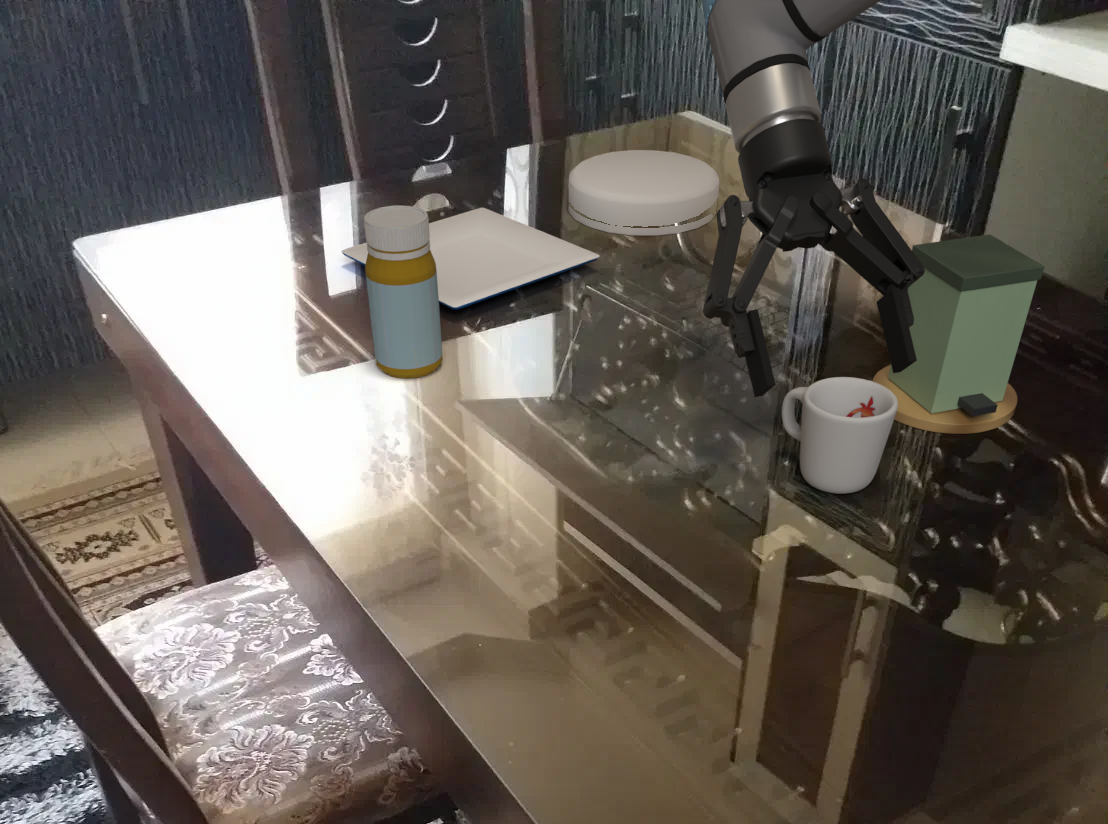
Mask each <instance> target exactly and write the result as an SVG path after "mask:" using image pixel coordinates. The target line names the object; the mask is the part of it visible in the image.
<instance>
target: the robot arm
mask: <svg viewBox="0 0 1108 824" xmlns="http://www.w3.org/2000/svg"><path fill="white" fill-rule="evenodd" d="M700 1H701V6H702V11H703V17H704V30H705V35H706V38H707V39H708V43H709V45H710V48H711V52H712V57H713V60H714V64H715V68H716V72H717V76H718V80H719V83H720V87H721V91H722V96H723V97H722V98H723V101H724V102H723V103H724V106H725V107H724V108H725V111H726V115H727V120H728V123H729V128H730V131H731V136H732V140H733V141H732V142H733V144H734V145H733V146H734V148H735V151H736V153H738V157H737V163H738V167H739V171H740V176H741V179H742V180H741V181H742V184H743V189H744V193H745V195H746V197H747V198H748V200H741V199H740V197H739V196H737V195H736V194H730V195H729V196H727V198H726V199H725V201H724V202H723V204H722V205H721V206H720V207H719V209H717V214H716V221H717V224H716V225H717V232H718V239H717V243H716V247H715V251H714V257H713V261H712V265H711V271H710V275H709V280H708V285H707V289H706V294H705V297H704V303H703V307H702V313H703V316H704V317H705V318H706V319H710V320H711V319H713V318H718V319H720V323H721V325H723V326H724V327H726V328H729V333H730V337H731V341H732V345H733V350H734V353H735V355H736V356H737V358H738V359H739V358H740V359H741V358H745V362H746V367H747V370H748V375H749V379H750V383H751V388H752V392H753V396H754V398H758V397H764V395H766V394H767V393H768V392H770V390H771V389H773V388H774V387H775V386H776V384H777V383H776V380H775V377H774V371H773V368H772V364H771V360H770V355H769V350H768V346H767V342H766V339H765V334H764V329H763V324H762V321H761V316H760V312H759V309H751V310H749V311H747V309H748V307H749V305H750V304H751V301H752V299H753V297H754V295H755V293H756V291H757V290H758V287H759V285H760V283H761V281H762V279H763V276H764V275H765V273H766V271H767V269H768V267H769V264H770V262H771V260H772V259H773V256H774V254H775V252H776V250H777V248H778V249H780V250H782V252H783V253H786V252H792V251H794V250H796V249H799V248H801V249H814V248H816V247H817V246H818V245H819V246H821V247H822V248H823V249H824V250H825V251H827V252H833V253H834V254H835V255H836V256H837V257H839V259H841V260H842V261H843V262H844V263H846V264H847V265H848V267H850V268H851V269H852V270H853V271H855V272H856V273H857V275H859V276H860V277H861V278H863V280H865V281H866V282H867V284H869V285H870V286H871V287H873V289H875V290H876V291H877V292H878V293H880V294H881V295H882V297H880V298H879V299H878V300H877V301H876V307H877V312H878V316H879V320H880V324H881V328H882V332H883V336H884V341H885V345H886V349H887V354H888V357H889V362H890V365H891V366H892V370H893V373H898V372H901V371H903V370H904V369H906V368H907V367H908V366H910V365H911V364H913V363H914V362H916V361H917V359H916V354H915V350H914V346H913V342H912V338H911V333H910V329H909V327H911V326H912V325H913V324H914V316H913V312H912V308H911V303H910V299H909V295H908V287H910V286H911V285H912V284H913V283H914V282H916V281H917V280H918V279H919V278H920V277H922V276H923V275H924V272H925V269H924V267H923V265H922V264H921V262H920V261H919V260H918V258H917V257H916V256H915V254H914V253H913V251H912V248H911V247H910V246H909V245H908V243H907V242H906V241H905V239H904V238H903V237H902V235H901V234H900V232H899V231H898V229H897V228H896V227H895V225H894V224H893V223H892V221H891V220H890V218H889V217H888V216H887V214H885V212H884V210H883V209H882V208H881V206H880V205H879V204H878V202H877V199H876V197H875V195H874V192H873V188H872V186H871V185H872V184H871V183H870V181H869V180H868V179H867V178H862V177H861V178H860V179H858V181H857V182H856V183H855V184H854V185H852V186H848V187H844V188H839V187H838V185H837V184H836V183H835V181H834V178H833V162H832V157H831V156H832V155H831V151H830V147H829V143H828V139H827V135H826V131H825V128H824V126H823V124H822V123H821V121H822V113H821V108H820V104H819V100H818V96H817V92H816V89H815V85H814V80H813V77H812V73H811V68H810V65H809V59H808V53H807V50H808V49H809V48H811V47H812V46H814V45H816V44H817V43H820V42H821V41H823V40H824V39H825V38H827V37H828V35H830V34H832V33H833V32H834V31H836V30H838V29H839V28H842V26H844V25H846V24H847V23H848V22H850V21H852V20H853V19H855V18H856V17H858V16H860V15H861V14H863V13H864V12H866V11H867V10H869V9H870V8H872V7H874V6H875V5H876V4H878V3H879V2H881V1H882V0H700ZM840 207H841V208H843V209H844V210H843V212H842V211H841V210H840ZM848 216H849V217H850V218H849V217H848ZM748 220H749V221H750V223H751V224H752V225H753V226H754V227H755V228H756V229H757V230H759V231H760V233H761V236H760V237H759V240H758V241H757V244H756V246H755V247H754V250H753V251H752V256H751V258H750V260H749V262H748V264H747V266H746V267H745V270H744V271H743V274H742V276H741V278H740V280H739V282H738V284H737V286H736V288H735V290H734V292H733V294H732V296H731V297H728V296H729V292H730V287H731V282H732V277H733V275H734V268H735V263H736V259H737V254H738V249H739V245H740V241H741V237H742V236H741V235H742V232H743V231H742V230H743V227H744V226H745V224H747V222H748ZM854 227H855V228H856V229H857V230H856V229H855V228H854ZM832 228H834V229H835V230H836V231H835V232H834V233H831V232H832V231H831V230H832Z"/></svg>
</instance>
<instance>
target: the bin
mask: <svg viewBox="0 0 1108 824" xmlns="http://www.w3.org/2000/svg"><path fill="white" fill-rule="evenodd" d="M911 250H912V251H913V253H914V254H915V256H916V257H917V258H918V260H919V261H920V262H921V264H922V265H923V267H924V269H925V272H924V275H923V276H922V277H920V278H919V279H918V280H917V281H916V282H914V283H913V284H912V285H911V286H910V287H908V295H909V299H910V303H911V308H912V312H913V316H914V324H913V325H912V326H911V327H909V329H910V333H911V338H912V342H913V346H914V350H915V354H916V359H917V361H916V362H914V363H913V364H911V365H910V366H908V367H907V368H906V369H904V370H903V371H901V372H898V373H893V370H892V366H891V364H889V365H890V370H889V375H888V378H889V379H890V380H891V381H892V382H894V383H895V384H896V385H897V386H898V387H900V388H901V389H902V390H903V391H905V392H906V393H907V394H908V395H909V396H911V397H912V398H913V399H914V400H915V401H917V402H918V403H919V404H920V405H922V406H923V407H924V408H925V409H926V410H928V411H929V412H930V413H937V412H943V411H948V410H954V409H959V408H962V409H964V410H965V411H966V412H967V413H969V414H970V415H971V416H978V415H984V414H989V413H995V412H996V409H997V406H998V405H997V404H996V403H995V402H998V401H1002V400H1003V397H1004V394H1005V390H1006V387H1007V383H1009V379H1010V377H1011V373H1012V369H1013V367H1014V362H1015V359H1016V355H1017V352H1018V349H1019V345H1020V342H1021V338H1022V334H1023V332H1024V328H1025V325H1026V322H1027V317H1028V314H1029V310H1030V307H1031V304H1032V300H1033V296H1034V293H1035V291H1036V286H1037V283H1038V281H1039V280H1040V281H1041V280H1042V277H1043V274H1044V270H1045V265H1043V264H1041V263H1039V262H1038V261H1036V260H1035V259H1033V258H1031V257H1030V256H1027V254H1024V253H1022V252H1021V251H1019V250H1018V249H1016V248H1014V247H1012V246H1011V245H1010V244H1007V243H1005V242H1004V241H1003V240H1001V239H999V238H997V237H995V236H994V235H993V234H982V235H976V236H975V235H974V236H968V237H962V238H953V239H947V240H940V241H933V242H925V243H918V244H913V245H912V248H911Z"/></svg>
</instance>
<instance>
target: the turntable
mask: <svg viewBox="0 0 1108 824" xmlns="http://www.w3.org/2000/svg"><path fill="white" fill-rule="evenodd" d="M890 365H891V364H889V365H887V366H885V367H882V369H879V371H877V372H876V374H874V376H873V378H872V379H871V381H872V382H875V383H878V384H880V385H882V386H884V387H886V388H887V389H889V390H890V391H891V392H892V393H893V394H894V395H895V396H896V398H897V401H898V409H897V412H896V415H895V418H894V421H896V422H898V423H901V424H903V425H905V426H909V427H912V428H915V429H918V430H923V431H926V432H927V431H928V432H933V433H941V434H950V435H951V434H952V435H966V434H977V433H983V432H988V431H991V430H995V429H997V428H999V427H1002V426H1003V425H1006V424H1007V423H1008V422H1009V421H1010V420H1011V419H1012V417H1013V416H1014V414H1015V412H1016V408H1017V404H1018V395H1017V392H1016V390H1015V389H1014V388H1013V386H1012V385H1011V384H1010V383H1009V382H1008V383H1007V387H1006V390H1005V394H1004V397H1003V400H1002V401H998V402H995V403H996V404H997V405H998V406H997V409H996V412H995V413H989V414H984V415H978V416H971V415H970V414H969V413H967V412H966V411H965V410H964V409H962V408H959V409H954V410H948V411H943V412H937V413H930V412H929V411H928V410H926V409H925V408H924V407H923V406H922V405H920V404H919V403H918V402H917V401H915V400H914V399H913V398H912V397H911V396H909V395H908V394H907V393H906V392H905V391H903V390H902V389H901V388H900V387H898V386H897V385H896V384H895V383H894V382H892V381H891V380H890V379H889V378H888V375H889V370H890Z"/></svg>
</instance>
